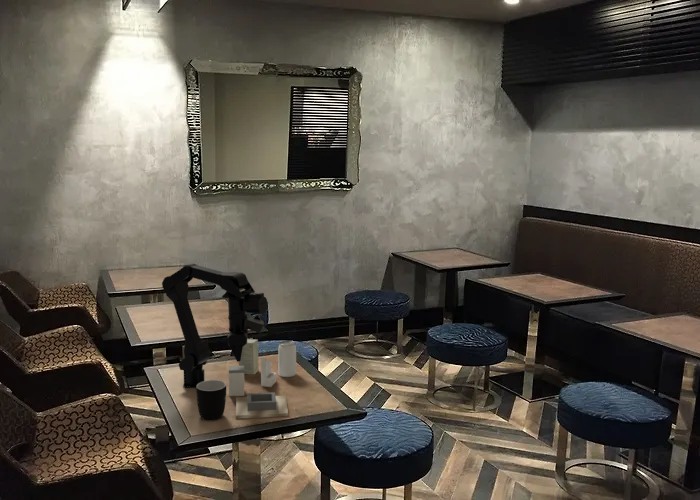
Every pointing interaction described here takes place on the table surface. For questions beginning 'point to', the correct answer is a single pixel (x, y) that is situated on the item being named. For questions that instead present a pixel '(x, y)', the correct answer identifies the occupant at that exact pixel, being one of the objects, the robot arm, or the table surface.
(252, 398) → the back box
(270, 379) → the white angled block
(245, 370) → the skincare box
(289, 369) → the can
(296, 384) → the table surface
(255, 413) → the board
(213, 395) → the mug
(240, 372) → the grey block
